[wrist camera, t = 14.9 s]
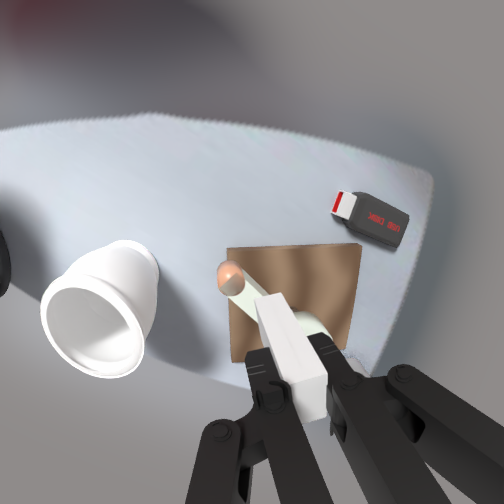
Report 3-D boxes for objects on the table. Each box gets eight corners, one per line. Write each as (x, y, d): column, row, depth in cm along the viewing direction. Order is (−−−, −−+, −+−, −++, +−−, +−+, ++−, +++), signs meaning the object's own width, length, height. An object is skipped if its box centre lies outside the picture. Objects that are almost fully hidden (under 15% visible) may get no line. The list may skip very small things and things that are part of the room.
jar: (183, 282, 36) (169, 354, 21) (126, 318, 36) (94, 391, 22) (135, 215, 32) (85, 251, 18) (80, 258, 32) (21, 310, 18)
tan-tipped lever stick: (330, 330, 34) (343, 348, 30) (293, 361, 35) (301, 381, 31) (242, 241, 29) (247, 253, 25) (199, 282, 29) (197, 299, 26)
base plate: (231, 356, 40) (231, 362, 39) (226, 247, 35) (227, 251, 34) (341, 343, 42) (345, 348, 41) (357, 243, 37) (362, 246, 36)
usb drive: (391, 245, 39) (401, 250, 36) (326, 218, 36) (335, 223, 33) (403, 213, 38) (414, 217, 35) (340, 182, 35) (349, 184, 32)
